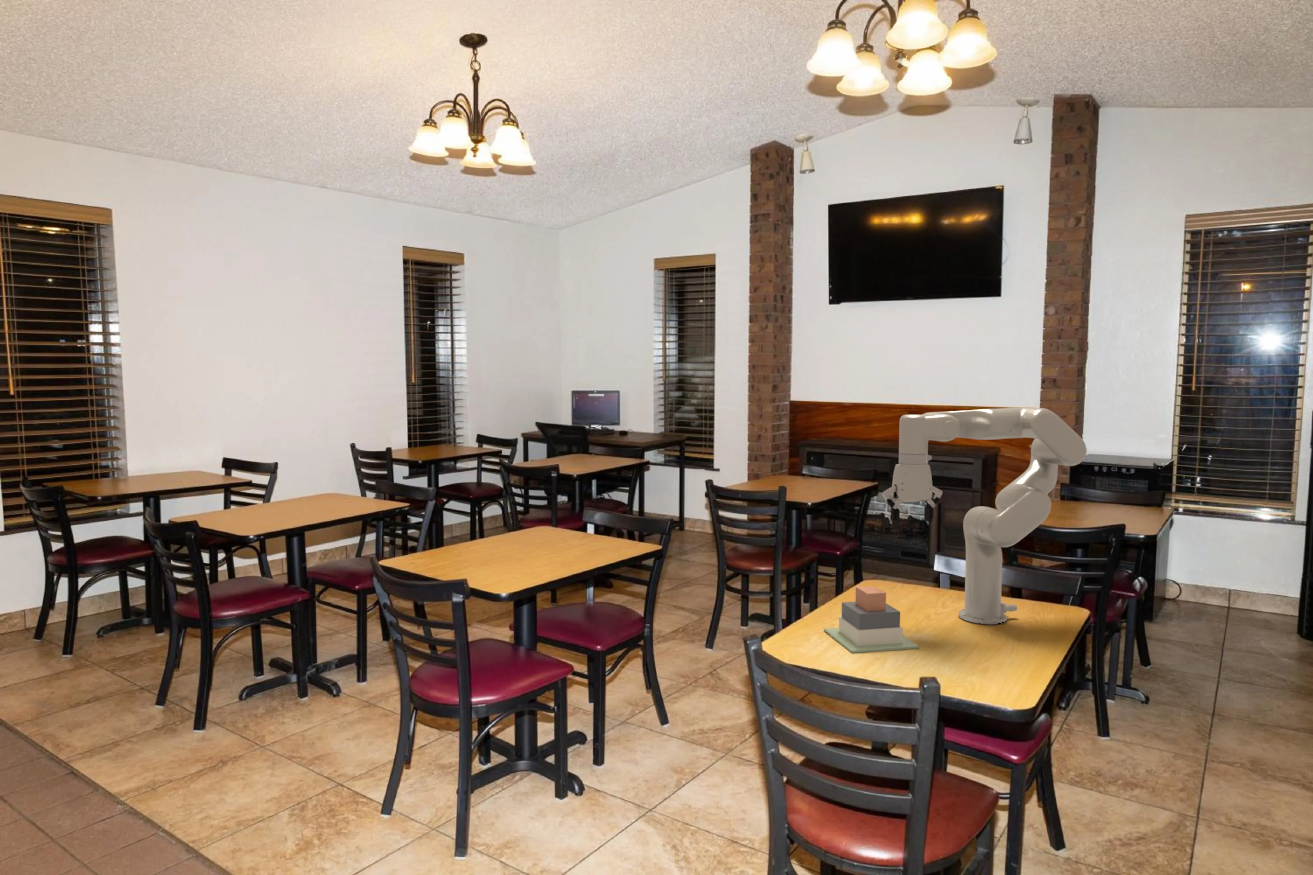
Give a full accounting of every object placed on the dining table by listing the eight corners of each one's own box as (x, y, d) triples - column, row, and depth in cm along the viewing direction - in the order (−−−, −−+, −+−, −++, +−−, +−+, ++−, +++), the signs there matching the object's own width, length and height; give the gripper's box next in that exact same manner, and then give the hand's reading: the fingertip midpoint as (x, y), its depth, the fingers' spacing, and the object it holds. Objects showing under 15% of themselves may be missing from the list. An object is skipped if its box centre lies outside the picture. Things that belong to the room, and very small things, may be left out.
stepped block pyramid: (886, 626, 223) (886, 595, 223) (919, 648, 206) (919, 614, 205) (823, 630, 220) (824, 599, 219) (851, 652, 202) (852, 618, 202)
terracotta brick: (873, 602, 216) (873, 585, 216) (885, 609, 209) (886, 592, 209) (855, 603, 215) (855, 586, 215) (867, 611, 208) (867, 593, 208)
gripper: (935, 457, 229) (933, 518, 230) (877, 459, 225) (876, 520, 227) (949, 460, 221) (948, 523, 222) (889, 462, 218) (888, 525, 219)
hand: (911, 521), depth 225 cm, fingers open, 9 cm apart
